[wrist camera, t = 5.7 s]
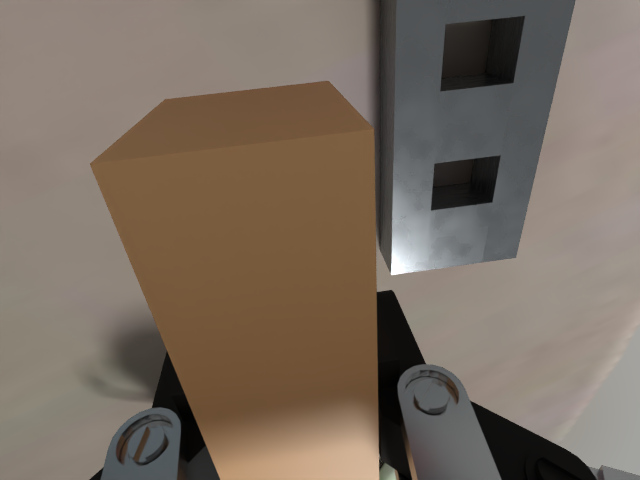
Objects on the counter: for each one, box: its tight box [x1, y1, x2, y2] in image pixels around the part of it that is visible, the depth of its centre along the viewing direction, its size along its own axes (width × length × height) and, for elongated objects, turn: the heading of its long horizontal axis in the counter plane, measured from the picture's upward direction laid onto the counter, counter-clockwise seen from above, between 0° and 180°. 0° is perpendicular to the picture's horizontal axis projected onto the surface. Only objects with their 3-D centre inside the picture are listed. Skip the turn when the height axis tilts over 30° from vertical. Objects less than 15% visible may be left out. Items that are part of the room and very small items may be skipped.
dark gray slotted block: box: [380, 0, 575, 275], centre depth 26 cm, size 22×10×4 cm, turn 5°
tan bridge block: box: [90, 81, 379, 480], centre depth 11 cm, size 12×3×8 cm, turn 5°
